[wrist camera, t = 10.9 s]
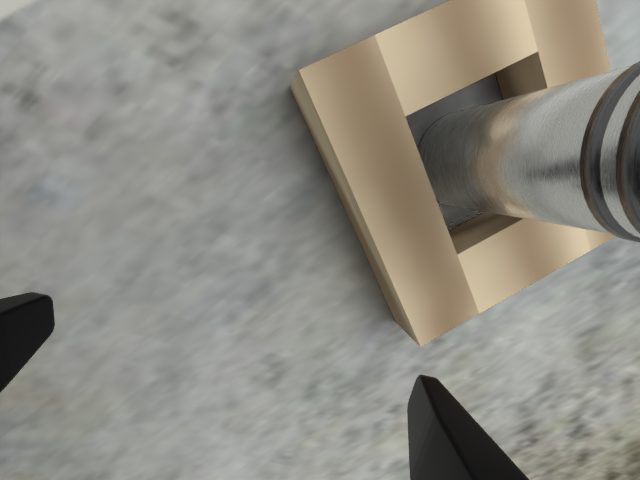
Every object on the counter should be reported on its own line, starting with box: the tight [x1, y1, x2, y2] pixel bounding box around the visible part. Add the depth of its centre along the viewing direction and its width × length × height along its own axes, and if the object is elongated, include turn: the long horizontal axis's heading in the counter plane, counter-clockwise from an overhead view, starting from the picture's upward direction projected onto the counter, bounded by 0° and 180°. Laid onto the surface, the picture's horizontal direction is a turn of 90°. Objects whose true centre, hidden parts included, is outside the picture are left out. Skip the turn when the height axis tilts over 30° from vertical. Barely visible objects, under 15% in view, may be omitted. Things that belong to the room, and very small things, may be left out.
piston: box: [418, 61, 640, 242], centre depth 14 cm, size 5×5×12 cm
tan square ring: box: [290, 0, 615, 347], centre depth 18 cm, size 14×14×3 cm
